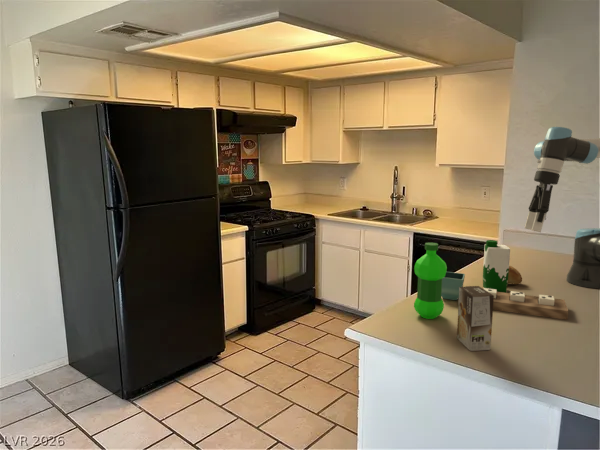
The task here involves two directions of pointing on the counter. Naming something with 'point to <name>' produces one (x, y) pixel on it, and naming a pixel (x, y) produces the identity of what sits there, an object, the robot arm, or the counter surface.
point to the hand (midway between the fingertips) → (532, 230)
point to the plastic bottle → (429, 283)
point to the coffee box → (475, 318)
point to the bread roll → (514, 276)
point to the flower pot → (452, 285)
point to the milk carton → (496, 266)
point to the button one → (491, 291)
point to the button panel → (530, 306)
